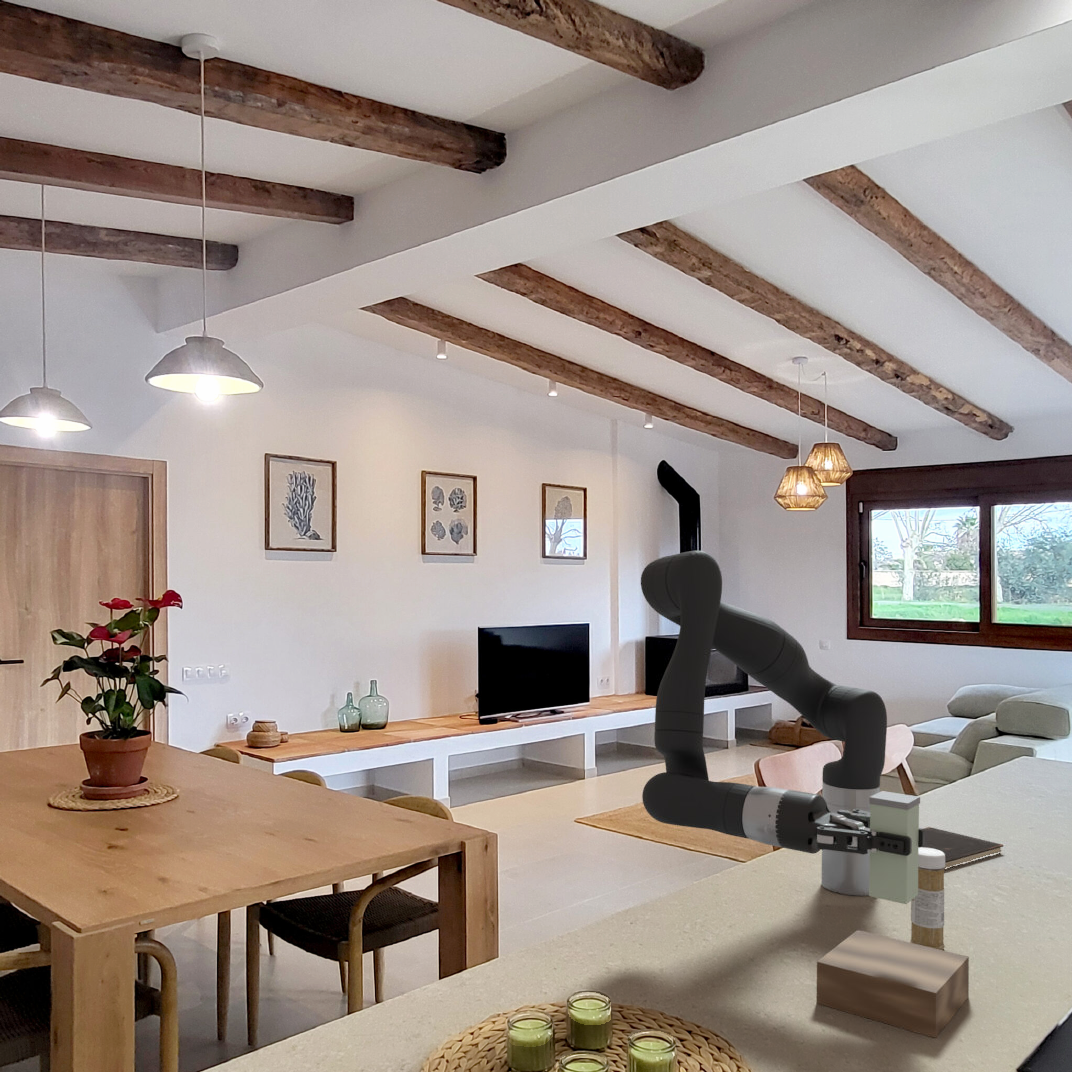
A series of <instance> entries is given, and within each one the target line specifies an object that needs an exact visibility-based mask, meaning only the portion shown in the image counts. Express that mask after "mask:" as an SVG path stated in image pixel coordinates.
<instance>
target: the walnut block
mask: <svg viewBox="0 0 1072 1072" xmlns="http://www.w3.org/2000/svg"><path fill="white" fill-rule="evenodd" d="M969 958H970V956H967V955H963V954H960V953H954V952H951V951H948V950H947V951H946V950H944V949H943V950H939V949H935V948H931V947H926V946H922V945H918V944H914V943H911V941H910V942H909V941H905V940H900V939H896V938H893V937H888V936H885V935H880V934H876V933H871V932H869V931H868V932H867V931H863V930H860V929H859V930H858V929H857V930H856V931H855V932H852V934H851V935H849V936H847V937H846V938H845V939H844V940H843V941H841V942H840V943H839V944H838V945H836V946H835V947H834V948H832V949H831V950H830V951H828V952H827V953H826V954H824V956H822V957H821V958H820V959H818V960H816V1004H817V1005H821V1006H825V1007H829V1008H832V1009H836V1010H838V1011H841V1012H846V1013H849V1014H853V1015H857V1016H860V1017H862V1018H866V1019H869V1020H872V1021H873V1020H874V1021H876V1022H880V1023H883V1024H887V1025H890V1026H893V1027H896V1028H901V1029H904V1030H906V1031H911V1032H914V1033H918V1034H921V1035H924V1036H929V1037H931V1038H935V1039H936V1038H937V1037H938V1036H939V1034H940V1033H941V1032H942V1031H943V1030H944V1028H945V1027H946V1026H947V1025H948V1024H949V1022H950V1021H951V1020H952V1018H953V1017H954V1016H955V1015H956V1014H957V1012H958V1011H960V1008H962V1007H963V1005H964V1004H965V1002H967V1000H968V998H969V995H970V994H969V992H970V991H969V987H970V986H969V985H970V982H969V975H970V972H969V971H970V969H969V968H970V966H969V965H970V964H969V963H970V962H969V961H970V959H969Z"/></svg>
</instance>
